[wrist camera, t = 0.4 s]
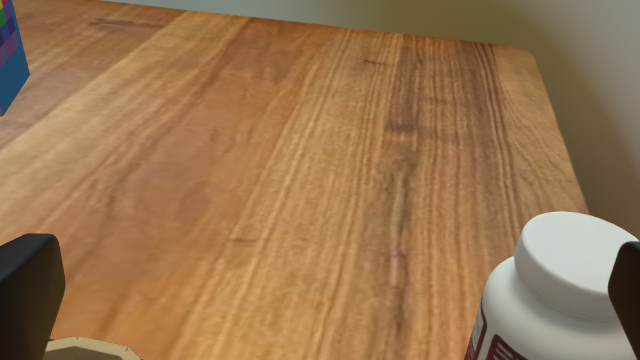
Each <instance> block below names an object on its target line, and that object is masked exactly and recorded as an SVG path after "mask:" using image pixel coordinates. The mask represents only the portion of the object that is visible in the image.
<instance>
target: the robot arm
mask: <svg viewBox="0 0 640 360" xmlns="http://www.w3.org/2000/svg"><path fill="white" fill-rule="evenodd" d="M64 292H65V275H64V269H63V264H62V258H61V252H60V247H59V242H58V240H57V238H56V237H55V236H54V235H53V234H34V233H29V234H25V235H22V236H20V237H18V238H16V239H14V240H12V241H10V242H8V243H6V244H3V245H1V246H0V360H43V357H44V353H45V350H46V347H47V344H48V341H49V338H50V335H51V332H52V329H53V326H54V323H55V320H56V317H57V314H58V311H59V308H60V305H61V302H62V299H63V296H64ZM608 295H609V298H610V301H611V303H612V305H613V308H614V310H615V312H616V314H617V316H618V319H619V321H620V323H621V325H622V328H623V330H624V332H625V334H626V336H627V339H628V341H629V343H630V345H631V348H632V350H633V352H634V354H635V356H636V359H637V360H640V241H629V242H625V243H624V244H622V245H621V247H620V248H619V251H618V254H617V257H616V260H615V263H614V266H613V269H612V272H611V275H610V278H609V282H608Z"/></svg>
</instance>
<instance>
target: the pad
mask: <svg viewBox="0 0 640 360" xmlns="http://www.w3.org/2000/svg"><path fill="white" fill-rule="evenodd" d="M43 360H142V359H140V358H139V357H138V356H137V355H136V354H135V353H134V352H133V351H132V350H131V349H128V348H127V347H125V346H121V345H116V344H112V343H107V342H103V341H98V340H94V339H89V338H85V337H79V338H78V339H77V337H71V338H65V339H60V340H53V339H49V341H48V344H47V347H46V350H45V353H44V357H43Z"/></svg>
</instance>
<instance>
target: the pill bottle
mask: <svg viewBox="0 0 640 360" xmlns="http://www.w3.org/2000/svg"><path fill="white" fill-rule="evenodd" d="M629 241H639V240H637V239H636V238H635V237H634V236H632V235H631V234H629V233H628V232H626V231H625V230H623V229H621V228H619V227H618V226H616V225H614V224H611V223H609V222H607V221H604V220H602V219H599V218H595V217H593V216H589V215H585V214H580V213H573V212H550V213H545V214H541V215H538V216H536V217H534V218H533V219H531V220H530V221H529V222H528V223H527V224H526V225H525V227H524V228H523V231H522V233H521V236H520V239H519V241H518V244H517V246H516V249H515V253H514V256H512V257H510V258H508V259H507V260H505V261H503V262H502V263H501V264H499V265H498V266H497V267H496V268H495V269H494V271H493V272H492V273H491V275H490V276H489V278H488V281H487V283H486V286H485V289H484V292H483V295H482V299H481V303H480V306H479V310H478V314H477V317H476V320H475V324H474V327H473V330H472V334H471V337H470V341H469V344H468V348H467V351H466V355H465V358H464V360H637V359H636V356H635V354H634V352H633V350H632V348H631V345H630V343H629V341H628V339H627V336H626V334H625V332H624V330H623V328H622V325H621V323H620V321H619V319H618V316H617V314H616V312H615V310H614V308H613V305H612V303H611V301H610V298H609V295H608V282H609V278H610V275H611V272H612V269H613V266H614V263H615V260H616V257H617V254H618V251H619V248H620V247H621V245H622V244H624V243H625V242H629Z"/></svg>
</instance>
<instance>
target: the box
mask: <svg viewBox="0 0 640 360" xmlns="http://www.w3.org/2000/svg"><path fill="white" fill-rule="evenodd" d="M29 75H30V73H29V69H28V65H27V61H26V57H25V53H24V49H23V44H22V40H21V36H20V32H19V28H18V24H17V19H16V15H15V11H14V7H13V3H12V0H0V116H3V114H4V113H5V111H6V110H7V108H8V107H9V105H10V104H11V102H12V101H13V99H14V98H15V96H16V95H17V93H18V92H19V90H20V89H21V87H22V86H23V84H24V83H25V81H26V80H27V78H28V77H29Z"/></svg>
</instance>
